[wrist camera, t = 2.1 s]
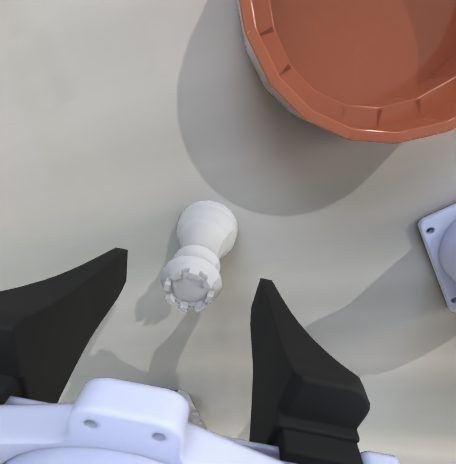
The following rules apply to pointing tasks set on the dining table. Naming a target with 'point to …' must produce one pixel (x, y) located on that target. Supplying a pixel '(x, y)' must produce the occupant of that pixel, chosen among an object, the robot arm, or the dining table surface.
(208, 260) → the rook chess piece
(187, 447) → the robot arm
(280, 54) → the bowl
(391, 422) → the dining table surface
